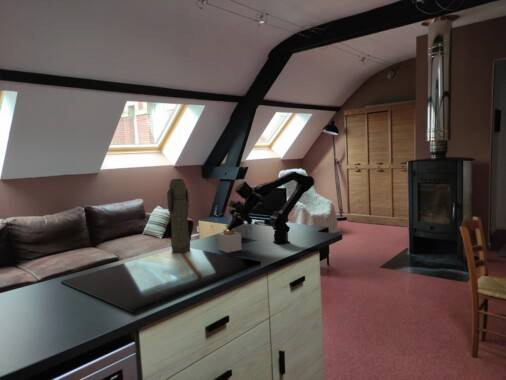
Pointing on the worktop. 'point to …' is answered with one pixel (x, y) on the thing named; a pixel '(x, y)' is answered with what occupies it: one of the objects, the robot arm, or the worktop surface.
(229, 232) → the plunger
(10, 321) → the worktop surface
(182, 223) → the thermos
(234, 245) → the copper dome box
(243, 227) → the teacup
